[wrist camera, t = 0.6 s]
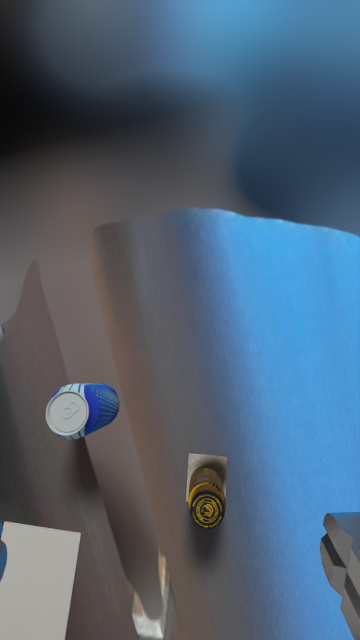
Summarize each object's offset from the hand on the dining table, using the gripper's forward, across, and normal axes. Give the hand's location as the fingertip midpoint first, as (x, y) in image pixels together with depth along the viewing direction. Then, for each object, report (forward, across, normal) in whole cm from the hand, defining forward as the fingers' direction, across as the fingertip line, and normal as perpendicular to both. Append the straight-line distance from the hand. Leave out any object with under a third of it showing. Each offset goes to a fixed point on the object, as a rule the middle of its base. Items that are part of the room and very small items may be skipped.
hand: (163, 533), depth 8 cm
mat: (+35, -27, -54) cm, 70 cm away
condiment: (+41, +6, -37) cm, 56 cm away
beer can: (+48, -15, -25) cm, 57 cm away
